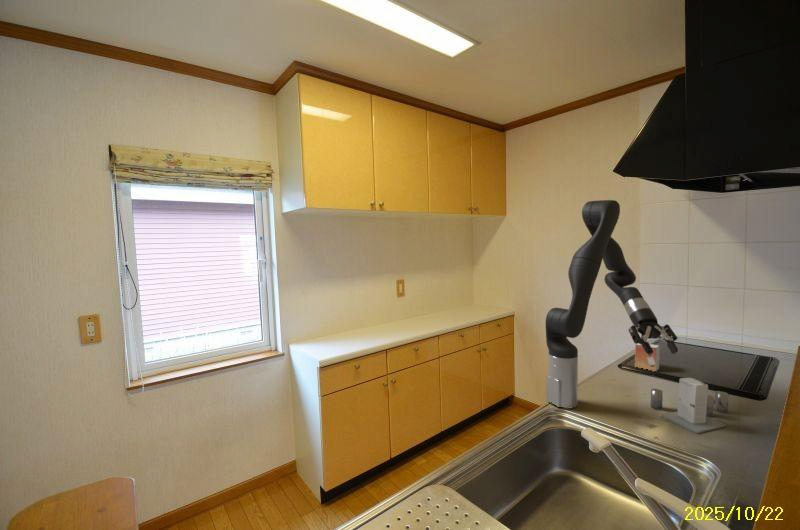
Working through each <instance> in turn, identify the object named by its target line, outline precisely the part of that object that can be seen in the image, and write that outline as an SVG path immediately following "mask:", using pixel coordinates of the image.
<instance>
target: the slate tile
mask: <svg viewBox="0 0 800 530" xmlns="http://www.w3.org/2000/svg"><path fill="white" fill-rule="evenodd" d="M659 415H660V417H659V418H661V419H664V420H666V421H668V422H671V423H672V424H674V425H678V426H680V427H682V428H684V429H686V430H689V431H691V432H694V433H695V434H701V433H703V434H704V433H706V432H709V431H713V430H717V428H718V429H721V427H722V428H724V426H727V425H726V423H723V422H720V421H718V420H715V419H713V418H712V417H707V416H706V423H701V424H693V423H691V422H689V421H687V420H685V419H684V418H682V417H680V416H678V410H677V411H676V410H675V411H673V412H668V413H664V414H659Z"/></svg>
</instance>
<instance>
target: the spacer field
mask: <svg viewBox="0 0 800 530" xmlns="http://www.w3.org/2000/svg"><path fill="white" fill-rule="evenodd" d="M663 394H664V393H663V390H662V389H658V388H650V408H651V409H652V410H655V411H656V410H657V411H662V410H663V399H664V398H663V397H664V396H663ZM714 395H715V397H714V396H712V395H710V394H707V409H706V417H708V418H713V417H714V411H716V412H718V413H721V414H728V413H729V397H730V396H729V395H730V394H729V393H727V392H725V391H722V390H721V391H720V390H718V391H717V390H716V391H715V394H714ZM714 398H715V399H714ZM714 402H715V403H714ZM714 404H715V405H714ZM714 409H715V410H714Z"/></svg>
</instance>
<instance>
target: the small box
mask: <svg viewBox="0 0 800 530" xmlns="http://www.w3.org/2000/svg"><path fill="white" fill-rule="evenodd" d="M649 344H650V346H651V348H652V350H653V353H652V354H650V355H648V354H647V353H646V352H645V350H644V348H643V346H642V345H641V344H639V343H637V344H635V349H634V350H635V351H634V353H635V354H634V368H636V367H638V369H641V368H643V369H642V370H646V369H648V370H647V371H650V370H652V371H651V372H654V371H656V372H657V371H658V370H659V369H660V351H661V349H660V344H653V343H652V344H651V343H649Z"/></svg>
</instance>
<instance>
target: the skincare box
mask: <svg viewBox="0 0 800 530" xmlns="http://www.w3.org/2000/svg"><path fill="white" fill-rule="evenodd" d="M678 384H679V385H678V397H677V398H678V399H677V400H678V401H677V411H678V416H680V417H682V418H684V419H685V420H687V421H689V422H691V423H693V424H701V423H706V417H707V416H706V409H707V395H709V394H708V393H709V384H707V383H704V382H703V381H700V380H698V379H695V378H693V377H683V378H682V377H681V378H679V383H678Z"/></svg>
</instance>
